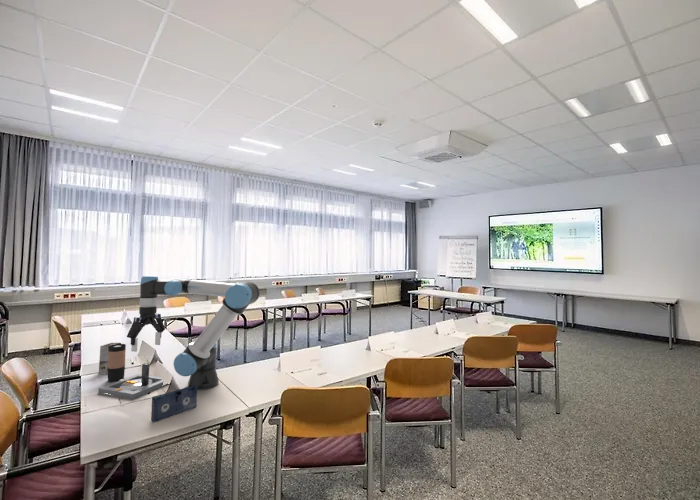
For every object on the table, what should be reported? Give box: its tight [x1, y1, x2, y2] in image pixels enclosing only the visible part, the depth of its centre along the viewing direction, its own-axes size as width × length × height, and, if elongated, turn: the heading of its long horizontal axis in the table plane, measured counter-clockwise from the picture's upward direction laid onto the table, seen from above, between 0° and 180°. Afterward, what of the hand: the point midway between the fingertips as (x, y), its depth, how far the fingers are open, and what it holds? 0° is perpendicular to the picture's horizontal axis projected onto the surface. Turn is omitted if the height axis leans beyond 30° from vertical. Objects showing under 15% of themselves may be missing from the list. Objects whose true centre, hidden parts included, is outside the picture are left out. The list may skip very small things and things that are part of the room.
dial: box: [120, 362, 152, 391], centre depth 167 cm, size 14×14×12 cm
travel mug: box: [107, 343, 127, 383], centre depth 178 cm, size 8×8×20 cm
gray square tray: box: [97, 373, 164, 400], centre depth 167 cm, size 22×22×4 cm
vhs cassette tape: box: [150, 385, 198, 423], centre depth 143 cm, size 18×3×10 cm, turn 141°
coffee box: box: [98, 342, 122, 375], centre depth 194 cm, size 9×6×16 cm
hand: (146, 348), depth 166 cm, fingers open, 13 cm apart
